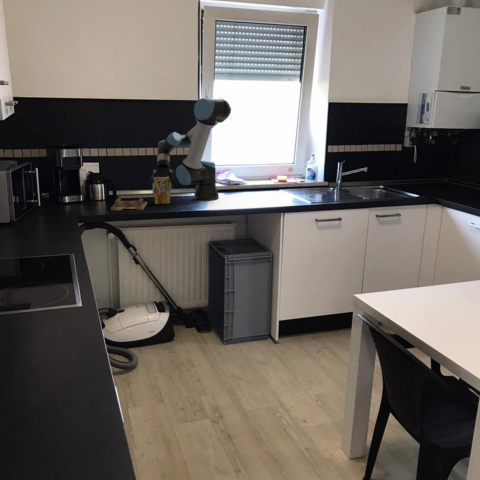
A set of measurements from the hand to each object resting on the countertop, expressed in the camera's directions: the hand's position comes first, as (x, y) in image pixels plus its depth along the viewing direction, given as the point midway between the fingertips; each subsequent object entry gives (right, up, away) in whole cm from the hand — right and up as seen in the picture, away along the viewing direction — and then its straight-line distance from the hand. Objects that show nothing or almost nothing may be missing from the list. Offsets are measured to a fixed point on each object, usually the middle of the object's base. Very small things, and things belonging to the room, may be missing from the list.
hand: (161, 193), depth 314 cm
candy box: (0, -6, +3) cm, 7 cm away
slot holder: (-18, -9, -8) cm, 21 cm away
